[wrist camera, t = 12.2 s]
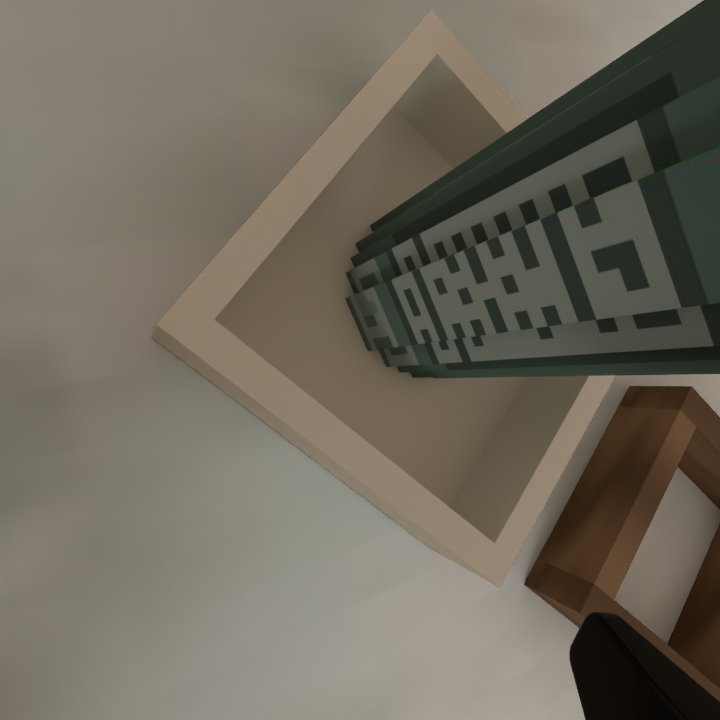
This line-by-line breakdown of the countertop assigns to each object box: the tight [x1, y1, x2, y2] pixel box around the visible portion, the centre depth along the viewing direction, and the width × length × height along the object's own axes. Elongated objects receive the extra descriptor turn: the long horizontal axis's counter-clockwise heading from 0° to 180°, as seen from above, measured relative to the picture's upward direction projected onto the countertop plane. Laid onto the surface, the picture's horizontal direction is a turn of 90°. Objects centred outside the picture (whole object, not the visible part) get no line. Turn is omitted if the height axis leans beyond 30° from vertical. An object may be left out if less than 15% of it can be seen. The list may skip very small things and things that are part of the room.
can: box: [345, 0, 720, 378], centre depth 13 cm, size 6×6×15 cm
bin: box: [152, 9, 616, 587], centre depth 19 cm, size 13×13×4 cm
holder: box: [524, 386, 720, 701], centre depth 24 cm, size 10×10×3 cm
